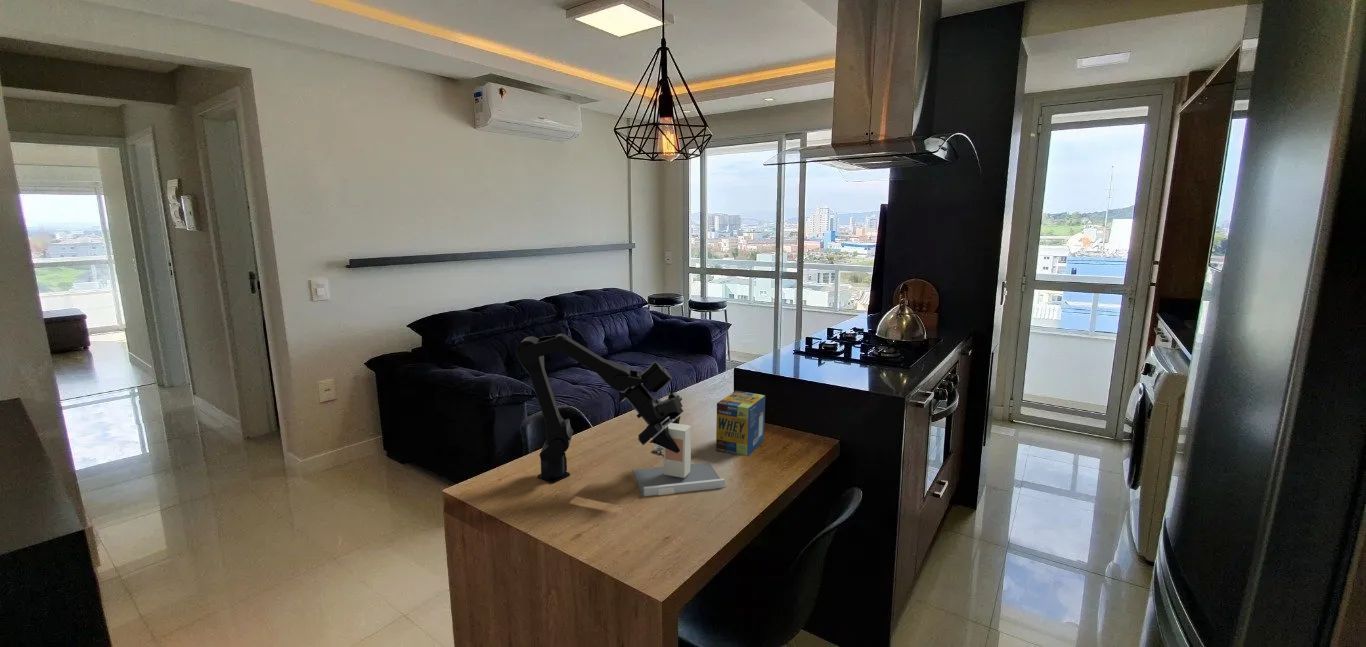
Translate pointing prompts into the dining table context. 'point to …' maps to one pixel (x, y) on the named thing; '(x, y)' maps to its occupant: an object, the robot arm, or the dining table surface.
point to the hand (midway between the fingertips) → (682, 448)
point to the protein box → (740, 423)
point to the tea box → (679, 461)
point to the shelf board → (677, 480)
